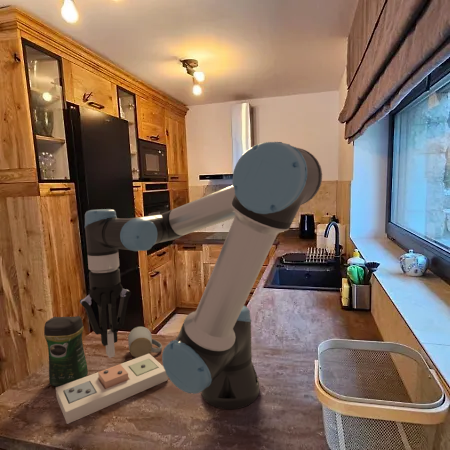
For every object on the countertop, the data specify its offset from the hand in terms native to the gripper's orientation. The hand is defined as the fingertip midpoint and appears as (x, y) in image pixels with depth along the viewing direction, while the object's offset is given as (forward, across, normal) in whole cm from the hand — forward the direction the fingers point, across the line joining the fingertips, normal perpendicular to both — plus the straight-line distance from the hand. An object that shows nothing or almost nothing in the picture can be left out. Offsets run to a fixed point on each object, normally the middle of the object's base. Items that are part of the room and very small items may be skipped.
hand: (110, 354), depth 86 cm
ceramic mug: (+10, -15, -13) cm, 22 cm away
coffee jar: (+10, +8, -12) cm, 18 cm away
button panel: (+10, 0, 0) cm, 10 cm away
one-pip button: (+9, -9, 0) cm, 13 cm away
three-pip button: (+10, +8, 0) cm, 13 cm away
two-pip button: (+8, 0, 0) cm, 8 cm away
